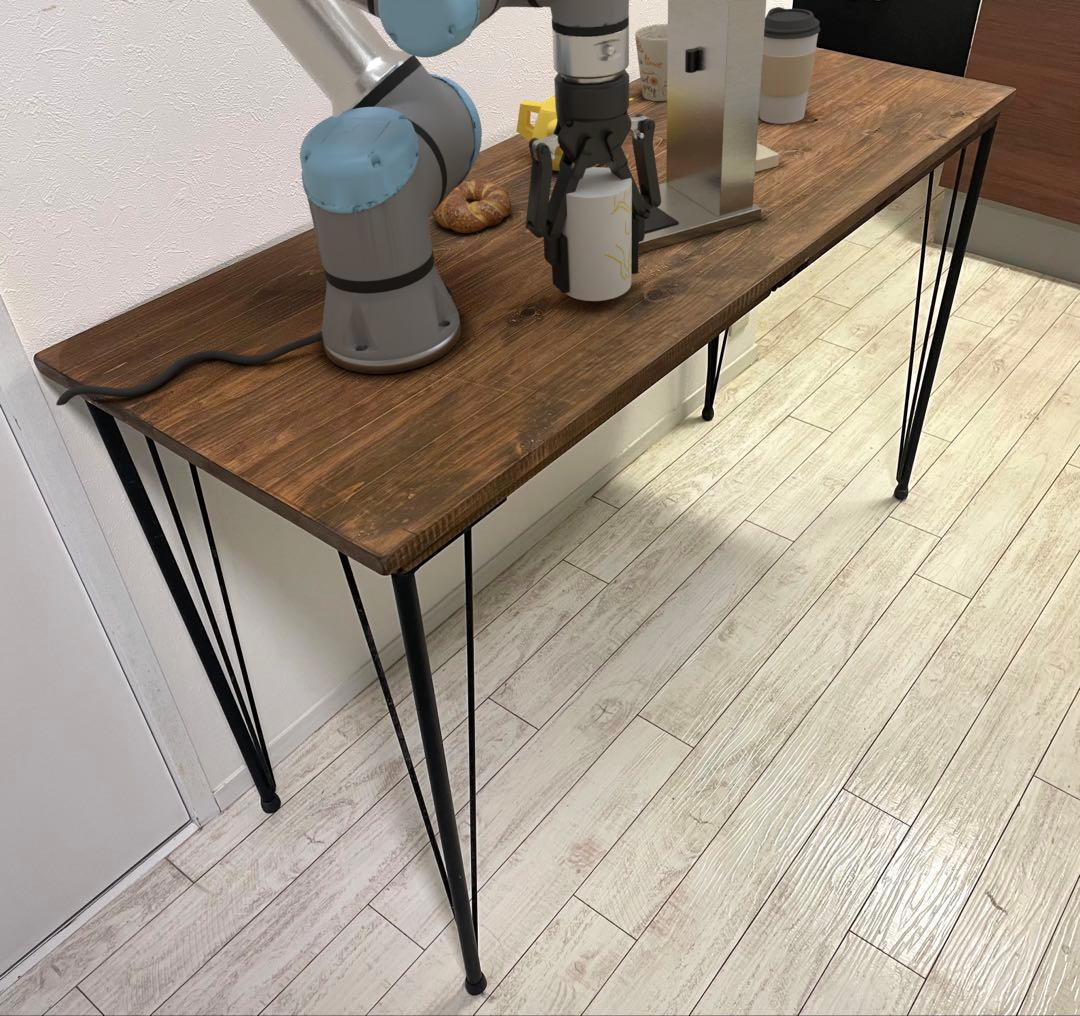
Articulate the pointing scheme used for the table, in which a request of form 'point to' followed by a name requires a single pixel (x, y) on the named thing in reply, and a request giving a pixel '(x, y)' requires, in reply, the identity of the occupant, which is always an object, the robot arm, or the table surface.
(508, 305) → the table surface
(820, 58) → the table surface
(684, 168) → the coffee machine
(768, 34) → the coffee cup
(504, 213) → the pretzel
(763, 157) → the cream triangular wedge
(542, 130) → the teapot
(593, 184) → the cup
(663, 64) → the mug
